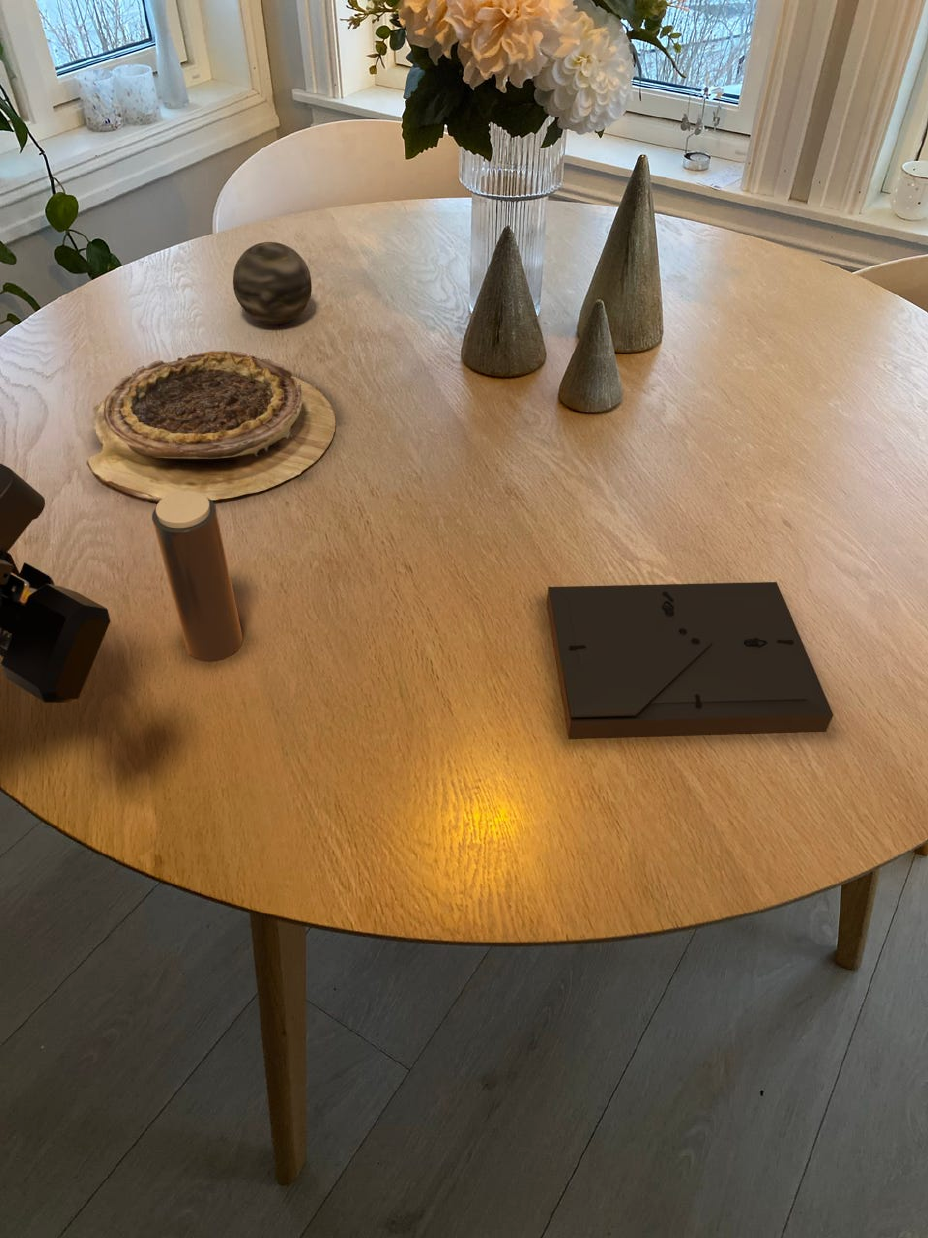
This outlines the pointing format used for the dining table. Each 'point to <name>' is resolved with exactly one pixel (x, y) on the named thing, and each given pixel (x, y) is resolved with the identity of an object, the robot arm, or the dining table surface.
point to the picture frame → (682, 661)
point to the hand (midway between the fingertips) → (81, 613)
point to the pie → (209, 427)
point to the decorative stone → (272, 283)
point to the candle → (198, 574)
